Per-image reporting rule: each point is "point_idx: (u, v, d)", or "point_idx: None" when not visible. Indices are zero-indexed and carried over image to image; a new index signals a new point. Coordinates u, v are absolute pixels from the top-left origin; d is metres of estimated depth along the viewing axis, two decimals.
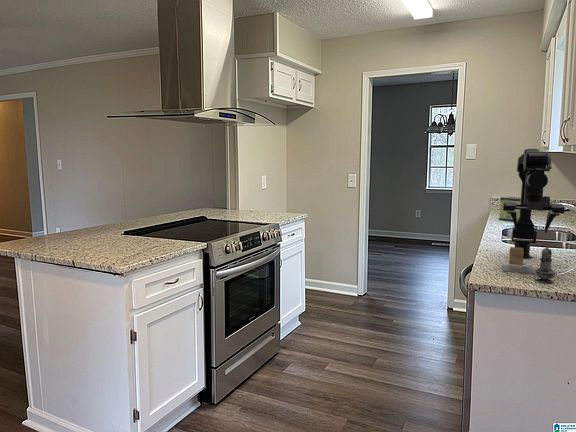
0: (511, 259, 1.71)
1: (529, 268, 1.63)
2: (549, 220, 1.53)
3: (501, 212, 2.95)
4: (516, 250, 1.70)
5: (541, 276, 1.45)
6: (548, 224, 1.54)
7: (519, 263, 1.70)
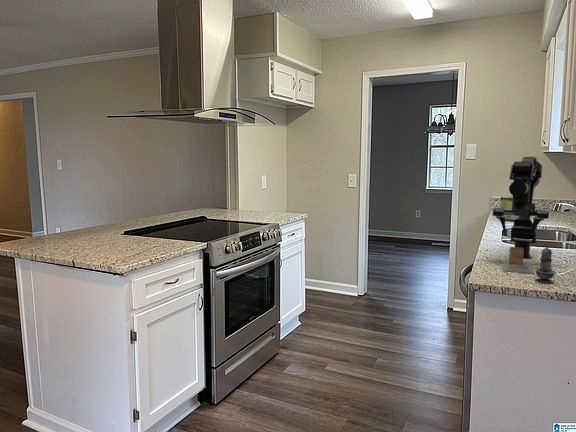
0: (511, 259, 1.71)
1: (529, 268, 1.63)
2: (535, 225, 1.67)
3: None
4: (516, 250, 1.70)
5: (541, 276, 1.45)
6: (534, 228, 1.68)
7: (519, 263, 1.70)
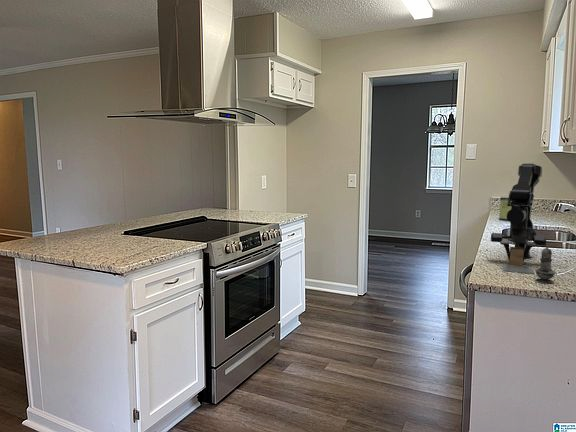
0: (511, 259, 1.71)
1: (529, 268, 1.63)
2: (526, 250, 1.69)
3: (501, 212, 2.95)
4: (516, 250, 1.70)
5: (541, 276, 1.45)
6: (525, 254, 1.70)
7: (519, 263, 1.70)
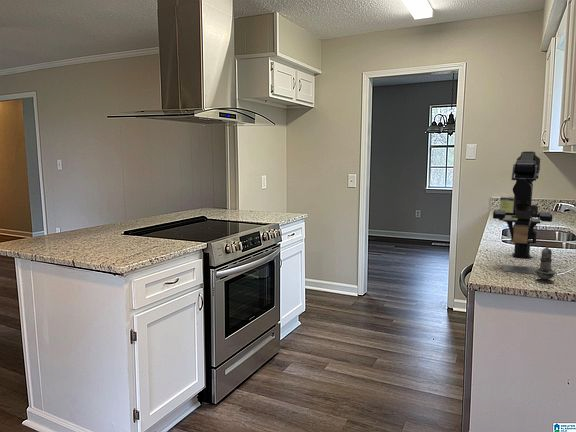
0: (515, 237, 1.60)
1: (529, 268, 1.63)
2: (530, 228, 1.58)
3: None
4: (520, 227, 1.59)
5: (541, 276, 1.45)
6: (529, 231, 1.59)
7: (523, 241, 1.59)
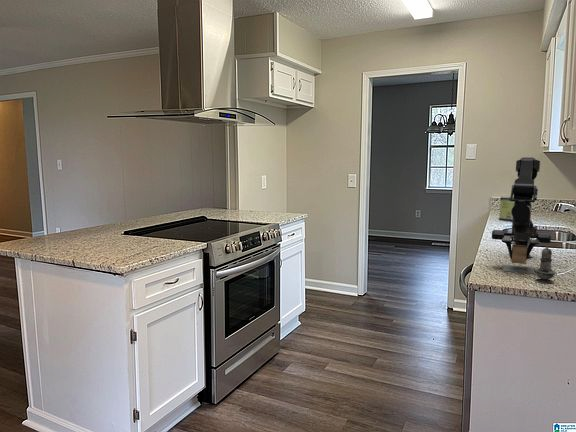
0: (514, 257, 1.61)
1: (529, 268, 1.63)
2: (529, 248, 1.59)
3: (501, 212, 2.95)
4: (519, 248, 1.60)
5: (541, 276, 1.45)
6: (528, 252, 1.60)
7: (522, 262, 1.60)
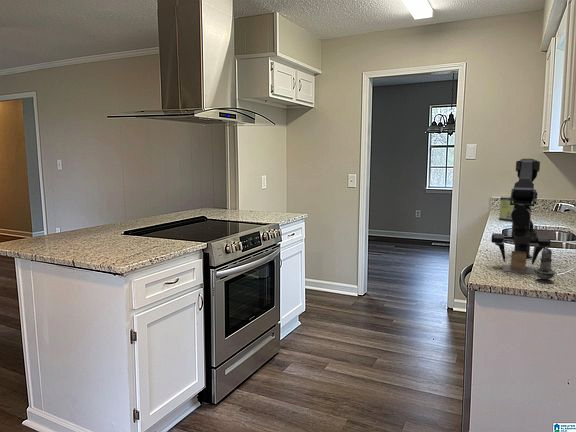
0: (513, 264, 1.61)
1: (529, 268, 1.63)
2: (536, 252, 1.58)
3: (501, 212, 2.95)
4: (518, 254, 1.60)
5: (541, 276, 1.45)
6: (535, 256, 1.59)
7: (521, 268, 1.60)
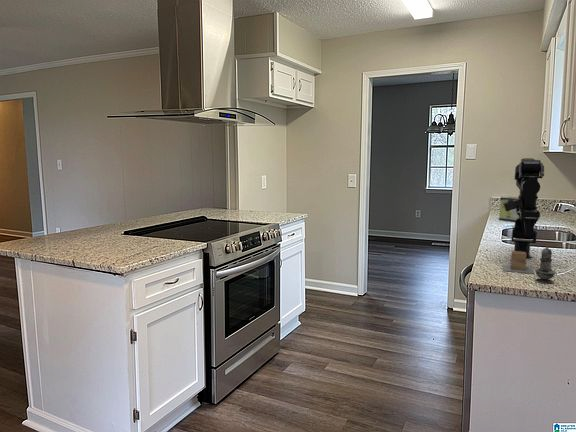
0: (513, 264, 1.61)
1: (529, 268, 1.63)
2: (524, 223, 1.67)
3: (501, 212, 2.95)
4: (518, 254, 1.60)
5: (541, 276, 1.45)
6: (524, 227, 1.67)
7: (521, 268, 1.60)
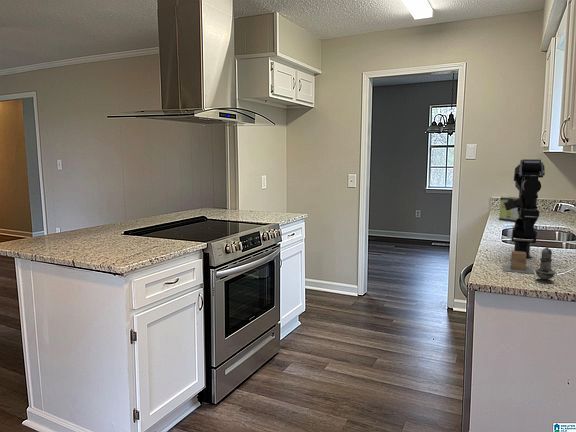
0: (513, 264, 1.61)
1: (529, 268, 1.63)
2: (524, 222, 1.68)
3: (501, 212, 2.95)
4: (518, 254, 1.60)
5: (541, 276, 1.45)
6: (524, 226, 1.68)
7: (521, 268, 1.60)
